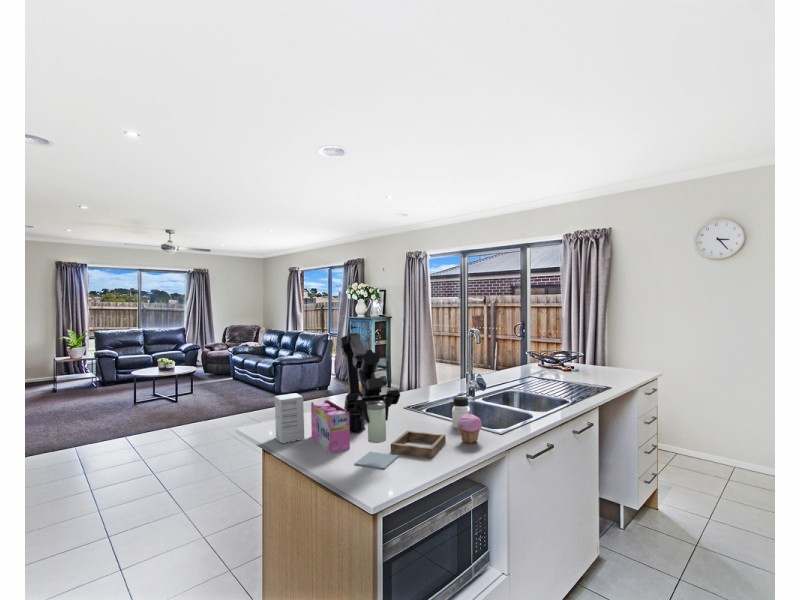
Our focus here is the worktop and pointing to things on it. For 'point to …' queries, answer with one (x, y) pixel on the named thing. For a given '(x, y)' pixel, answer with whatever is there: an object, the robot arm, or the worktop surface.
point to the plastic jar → (376, 422)
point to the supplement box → (289, 417)
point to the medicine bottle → (459, 409)
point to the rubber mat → (376, 460)
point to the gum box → (330, 426)
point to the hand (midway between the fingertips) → (377, 421)
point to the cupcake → (469, 427)
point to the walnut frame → (402, 448)
